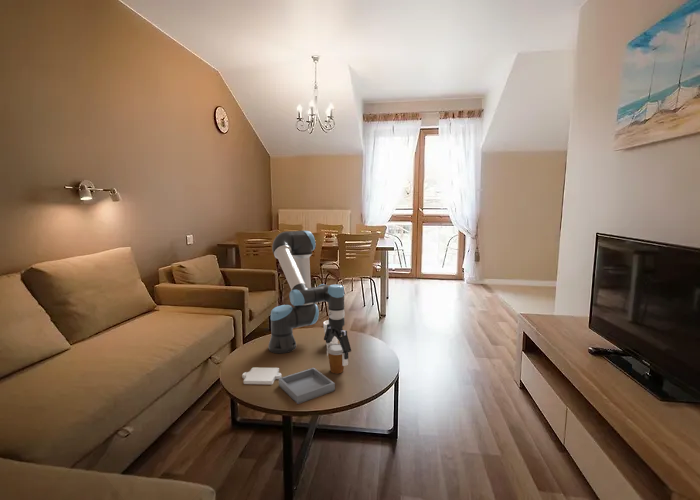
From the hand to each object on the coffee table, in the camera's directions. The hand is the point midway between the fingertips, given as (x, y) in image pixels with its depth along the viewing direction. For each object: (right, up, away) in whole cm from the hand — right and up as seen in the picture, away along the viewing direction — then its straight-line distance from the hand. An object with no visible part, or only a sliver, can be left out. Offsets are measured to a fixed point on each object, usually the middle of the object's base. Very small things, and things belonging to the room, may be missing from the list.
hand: (337, 360), depth 174 cm
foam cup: (-4, -1, +32) cm, 33 cm away
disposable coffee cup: (0, -6, +1) cm, 6 cm away
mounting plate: (-35, -7, -5) cm, 36 cm away
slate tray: (-13, -8, -15) cm, 21 cm away
